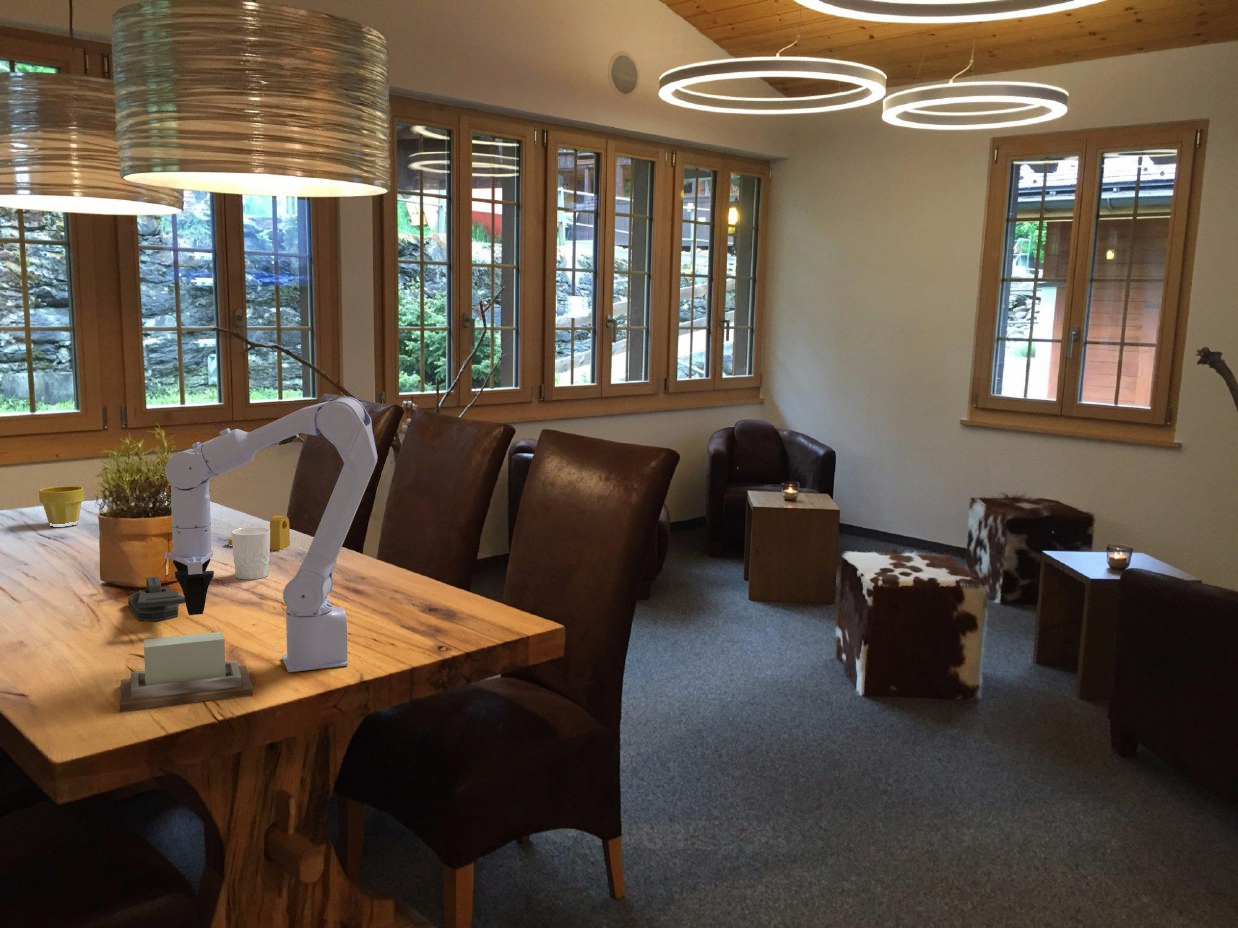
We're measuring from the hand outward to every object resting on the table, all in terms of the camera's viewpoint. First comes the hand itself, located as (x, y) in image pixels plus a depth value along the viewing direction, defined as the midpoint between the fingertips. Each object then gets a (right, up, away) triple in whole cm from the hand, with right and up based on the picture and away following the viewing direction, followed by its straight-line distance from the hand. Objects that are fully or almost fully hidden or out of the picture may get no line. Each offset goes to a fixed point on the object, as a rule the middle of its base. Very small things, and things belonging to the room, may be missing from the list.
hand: (194, 607), depth 165 cm
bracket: (-20, +3, +85) cm, 87 cm away
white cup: (-11, -1, +57) cm, 59 cm away
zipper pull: (-18, -6, +26) cm, 32 cm away
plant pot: (-78, +7, +104) cm, 130 cm away
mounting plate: (+3, -11, -10) cm, 15 cm away
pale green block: (+3, -10, -10) cm, 15 cm away
